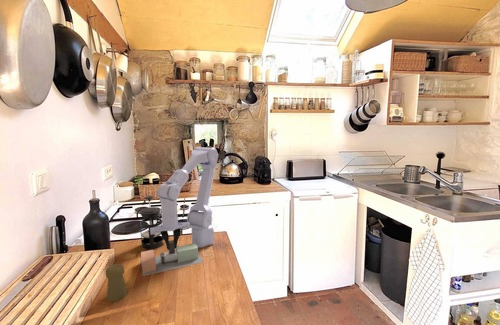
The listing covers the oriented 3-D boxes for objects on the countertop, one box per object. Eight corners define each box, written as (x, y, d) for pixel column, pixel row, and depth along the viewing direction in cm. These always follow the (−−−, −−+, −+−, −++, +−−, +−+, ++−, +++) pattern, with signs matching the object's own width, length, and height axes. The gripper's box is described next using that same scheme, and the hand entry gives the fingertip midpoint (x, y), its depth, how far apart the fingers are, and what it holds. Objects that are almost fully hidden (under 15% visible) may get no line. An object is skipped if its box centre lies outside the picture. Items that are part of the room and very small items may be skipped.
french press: (138, 253, 114) (134, 201, 110) (140, 243, 123) (136, 195, 119) (167, 249, 117) (164, 198, 114) (167, 240, 126) (164, 192, 122)
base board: (196, 250, 116) (195, 248, 116) (203, 264, 105) (203, 261, 105) (140, 262, 107) (140, 260, 106) (142, 278, 96) (142, 276, 96)
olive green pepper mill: (122, 289, 90) (119, 259, 88) (131, 297, 86) (128, 265, 84) (103, 299, 85) (100, 267, 83) (112, 307, 81) (108, 274, 79)
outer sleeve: (195, 253, 112) (195, 243, 111) (198, 258, 108) (198, 247, 107) (176, 257, 108) (175, 247, 108) (178, 262, 105) (177, 252, 104)
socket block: (153, 259, 107) (153, 249, 106) (156, 269, 100) (155, 259, 99) (141, 262, 105) (140, 252, 104) (143, 272, 98) (142, 261, 97)
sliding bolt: (194, 252, 111) (194, 235, 110) (196, 255, 108) (195, 238, 107) (160, 259, 105) (159, 242, 104) (161, 263, 103) (160, 245, 101)
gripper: (150, 221, 96) (152, 256, 98) (191, 215, 102) (192, 248, 104) (148, 215, 102) (151, 248, 105) (187, 209, 108) (188, 241, 111)
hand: (171, 248), depth 105 cm, fingers closed on sliding bolt, 2 cm apart
